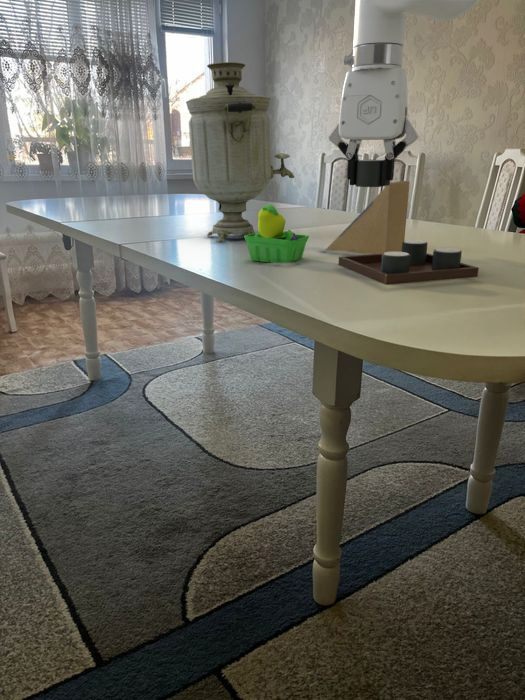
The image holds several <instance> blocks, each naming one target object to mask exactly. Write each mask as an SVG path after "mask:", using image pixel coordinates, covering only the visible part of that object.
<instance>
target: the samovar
mask: <svg viewBox="0 0 525 700" xmlns="http://www.w3.org/2000/svg"><path fill="white" fill-rule="evenodd" d="M206 67H207V68H208V69H209V70H210V71H211V77H212V81H213V82H214V84H215V87H214V88H211V89H209V90H208V91H207V92H206V93H205V94H204V95H200V96H199V97H194V98H190V99H189V100H187V101H185V104H186V107H187V110H188V114H190V115H191V116H190V118H189V121H188V132H189V144H190V157H191V169H192V180H193V183H194V185H195V187H196V188H197V190H198V191H199V192H200V193H202V194H203V195H204V196H205V197H207V198H208V199H209V200H212V201H215V202H217V203H218V212H221V214H222V218H221V219H219V220H217V222H216V223H215V224H213V225H212V229H211V231H209V232H208V233H207V235H206V237H207V238H208V237H212V236H213V235H217V236H218V237H217V238H216V242H217V243H224V242H225V240H226V239H227V238H228V237H229V236H230V235H235V236H238V235H248V234H253V233H256V232H255V229H254V226H253V224H252V223H250V221H249V220H248V219H246V218H243V215H242V214H243V213H244V212H247V203H248V202H249V201H250V200H253V199H255V198H256V197H258V196H260V195H261V194H262V192H263V191H264V190H266V188H267V187H268V185H269V184H270V182H271V180H272V179H274V175H280V176H281V178H284V177H286V176H287V177H288V178H289V179H294V178H295V175H294V173H293V172H292V171H291V170H289V169H288V168H287V167H286V166H285V161H284V160H285V159H288V158H290V156H291V155H290V154H288V153H284V152H283V153H280V152H279V153H276V154H274V158H276V159H278V160H280V167H279V168H277V169H274V168H273V165H272V163H271V161H272V159H271V131H270V118H269V117H268V114H267V112H268V109H269V106H270V100H271V98H270V97H268V96H266V95H259V94H256V93H252V92H249V89H247V88H245V87H243V86H240V83H241V81H242V79H243V73H242V70H244V68H245V67H246V64H245V63H242V62H237V61H236V62H235V61H226V62H225V61H224V62H223V61H221V62H212V63H209V64H207V65H206Z"/></svg>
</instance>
